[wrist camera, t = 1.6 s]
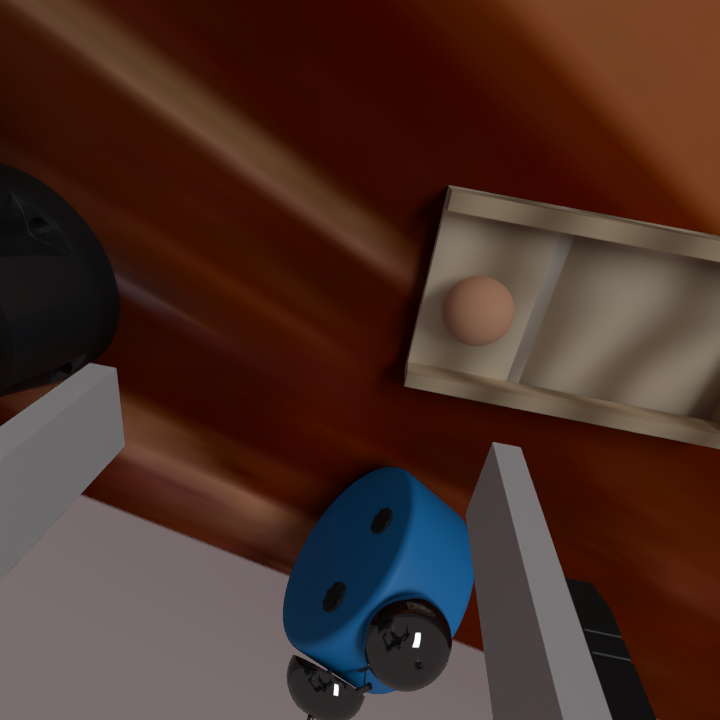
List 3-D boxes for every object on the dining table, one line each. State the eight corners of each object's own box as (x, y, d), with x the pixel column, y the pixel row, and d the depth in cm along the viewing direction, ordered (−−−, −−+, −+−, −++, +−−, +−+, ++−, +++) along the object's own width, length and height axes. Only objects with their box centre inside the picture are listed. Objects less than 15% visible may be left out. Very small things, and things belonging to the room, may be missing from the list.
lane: (405, 366, 31) (404, 387, 28) (448, 185, 26) (452, 191, 23) (720, 428, 31) (749, 456, 28) (834, 257, 25) (884, 272, 22)
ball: (433, 323, 28) (436, 350, 25) (449, 261, 26) (454, 281, 23) (496, 335, 28) (507, 364, 25) (516, 274, 26) (532, 296, 23)
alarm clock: (354, 552, 40) (324, 759, 27) (302, 513, 39) (244, 712, 25) (467, 479, 35) (498, 690, 22) (412, 431, 34) (411, 626, 20)
